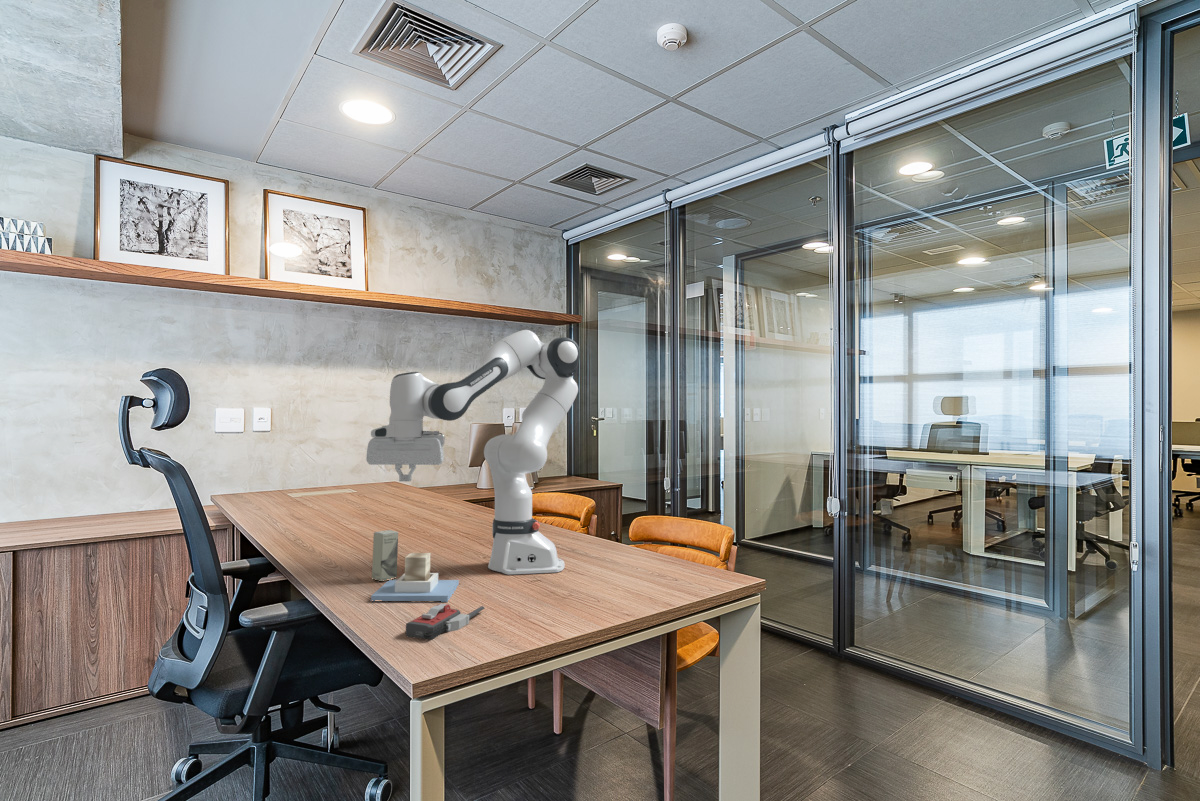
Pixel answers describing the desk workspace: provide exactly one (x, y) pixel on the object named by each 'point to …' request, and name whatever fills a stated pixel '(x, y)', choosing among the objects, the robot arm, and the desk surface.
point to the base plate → (416, 590)
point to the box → (385, 555)
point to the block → (417, 567)
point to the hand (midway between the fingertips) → (405, 481)
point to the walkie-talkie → (438, 622)
